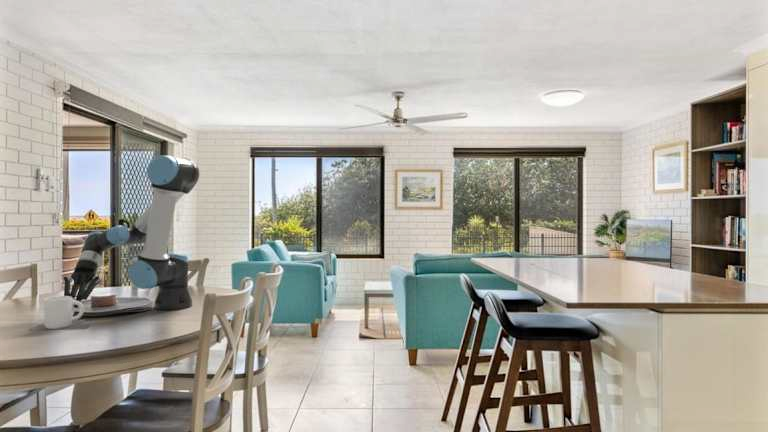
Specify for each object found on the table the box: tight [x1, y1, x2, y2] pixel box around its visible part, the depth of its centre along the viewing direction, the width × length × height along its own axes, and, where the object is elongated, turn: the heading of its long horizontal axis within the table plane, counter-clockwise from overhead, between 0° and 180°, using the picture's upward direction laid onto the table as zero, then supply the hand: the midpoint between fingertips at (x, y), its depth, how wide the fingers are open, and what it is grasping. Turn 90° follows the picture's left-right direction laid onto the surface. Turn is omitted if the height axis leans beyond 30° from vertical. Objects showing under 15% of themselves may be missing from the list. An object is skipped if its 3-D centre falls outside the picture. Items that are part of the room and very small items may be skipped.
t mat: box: [26, 319, 96, 332], centre depth 175 cm, size 19×14×1 cm
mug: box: [43, 295, 85, 329], centre depth 173 cm, size 12×8×10 cm
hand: (69, 314), depth 178 cm, fingers closed
